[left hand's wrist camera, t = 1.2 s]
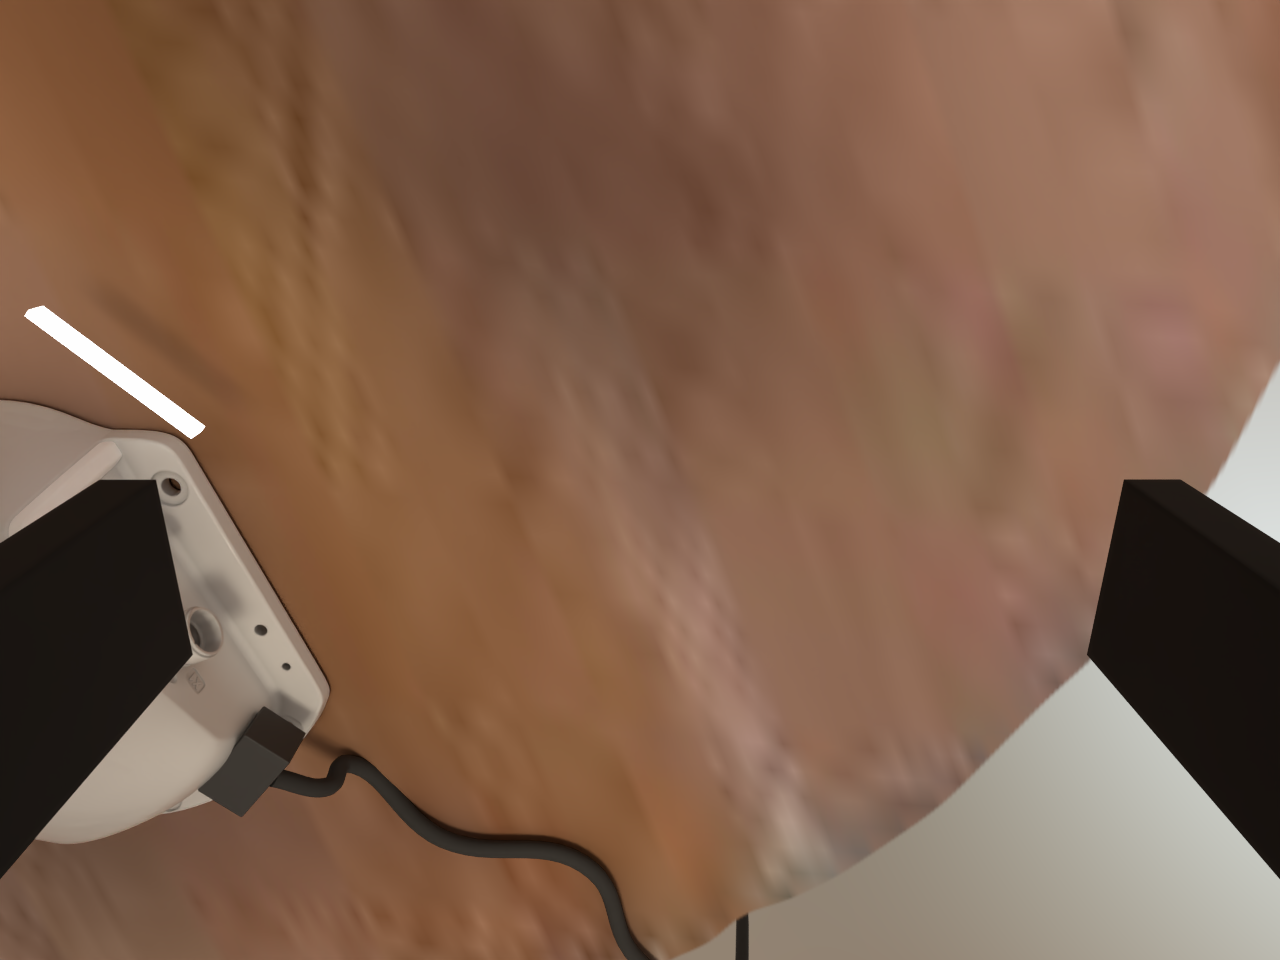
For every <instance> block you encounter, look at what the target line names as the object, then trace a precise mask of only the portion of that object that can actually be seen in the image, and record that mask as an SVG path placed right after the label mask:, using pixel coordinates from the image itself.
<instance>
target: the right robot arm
mask: <svg viewBox="0 0 1280 960" xmlns="http://www.w3.org/2000/svg"><path fill="white" fill-rule="evenodd" d="M25 317H27V318H28V319H29V320H31V321H32V322H33V323H35V324H36V325H38V326H39V327H40V328H42V329H43V330H44V331H46V332H47V333H48V334H50V335H51V336H52V337H54V338H55V339H57V340H58V341H59V342H61V343H62V344H63V345H65V346H66V347H67V348H69V349H70V350H71V351H73V352H74V353H76V354H77V355H78V356H80V357H81V358H82V359H84V360H85V361H86V362H88V363H89V364H90V365H92V366H93V367H95V368H96V369H97V370H99V371H100V372H101V373H103V374H104V375H105V376H107V377H108V378H109V379H111V380H112V381H114V382H115V383H116V384H118V385H119V386H120V387H122V388H123V389H124V390H126V391H127V392H128V393H130V394H131V395H133V396H134V397H135V398H137V399H138V400H139V401H141V402H142V403H143V404H145V405H146V406H147V407H149V408H150V409H152V410H153V411H154V412H156V413H157V414H158V415H160V416H161V417H162V418H164V419H165V420H166V421H168V422H169V423H171V424H172V425H173V426H175V427H176V428H177V429H179V430H180V431H181V432H183V433H184V434H185V435H187V436H188V437H190V438H193V437H194V436H196V435H197V434H199V433H200V432H201V431H202V430H203V429H204V427H205V426H204V425H202V424H201V423H200V422H198V421H197V420H196V419H194V418H193V417H192V416H190V415H189V414H188V413H186V412H185V411H184V410H182V409H181V408H180V407H178V406H177V405H176V404H174V403H173V402H172V401H170V400H169V399H168V398H166V397H165V396H163V395H162V394H161V393H159V392H158V391H157V390H155V389H154V388H153V387H151V386H150V385H149V384H147V383H146V382H145V381H143V380H142V379H141V378H139V377H138V376H137V375H135V374H134V373H133V372H131V371H130V370H129V369H127V368H126V367H125V366H123V365H122V364H120V363H119V362H118V361H116V360H115V359H114V358H112V357H111V356H110V355H108V354H107V353H106V352H104V351H103V350H102V349H100V348H99V347H98V346H96V345H95V344H94V343H92V342H91V341H90V340H88V339H87V338H86V337H84V336H83V335H81V334H80V333H79V332H77V331H76V330H75V329H73V328H72V327H71V326H69V325H68V324H67V323H65V322H64V321H63V320H61V319H60V318H59V317H57V316H56V315H55V314H53V313H52V312H51V311H49V310H48V309H47V308H45V307H44V306H41V307H37V308H34V309H30V310H28V312H27V313H26V315H25ZM169 478H172V479H175V480H176V481H177V482H178V483H179V484H180V486H181V490H177V489H175V488H173V487H172V486H171V484H170V482H169ZM98 480H156V482H157V487H158V492H159V496H160V501H161V506H162V511H163V515H164V520H165V525H166V529H167V534H168V539H169V544H170V548H171V553H172V558H173V563H174V567H175V572H176V577H177V582H178V586H179V591H180V596H181V601H182V605H183V610H184V615H185V619H186V624H187V629H188V634H189V638H190V643H191V648H192V653H193V655H192V656H191V658H190V659H189V660H188V661H187V662H186V663H185V665H184V666H183V667H182V668H181V669H180V670H179V672H178V673H177V674H176V675H175V676H174V677H173V679H172V680H171V681H170V682H169V683H168V684H167V685H166V687H165V688H164V689H163V690H162V691H161V692H160V694H159V695H158V696H157V697H156V698H155V699H154V701H153V702H152V703H151V704H150V705H149V706H148V708H147V709H146V710H145V711H144V712H143V713H142V715H141V716H140V717H139V718H138V719H137V720H136V722H135V723H134V724H133V725H132V726H131V727H130V729H129V730H128V731H127V732H126V733H125V734H124V736H123V737H122V738H121V739H120V740H119V741H118V742H117V744H116V745H115V746H114V747H113V748H112V749H111V751H110V752H109V753H108V754H107V755H106V756H105V758H104V759H103V760H102V761H101V762H100V763H99V765H98V766H97V767H96V768H95V769H94V770H93V772H92V773H91V774H90V775H89V776H88V777H87V779H86V780H85V781H84V782H83V783H82V784H81V786H80V787H79V788H78V789H77V790H76V791H75V793H74V794H73V795H72V796H71V797H70V798H69V799H68V801H67V802H66V803H65V804H64V805H63V806H62V808H61V809H60V810H59V811H58V812H57V813H56V815H55V816H54V817H53V818H52V819H51V820H50V822H49V823H48V824H47V825H46V826H45V827H44V829H43V830H42V831H41V832H40V833H39V834H38V836H37V837H36V838H35V839H36V840H42V841H47V842H51V843H58V844H76V843H84V842H89V841H93V840H97V839H101V838H105V837H108V836H111V835H113V834H116V833H119V832H122V831H125V830H127V829H130V828H132V827H134V826H137V825H139V824H141V823H144V822H146V821H148V820H150V819H152V818H154V817H156V816H157V815H159V814H165V813H172V812H177V811H181V810H185V809H189V808H192V807H195V806H198V805H201V804H204V803H207V802H209V801H212V800H214V801H215V802H217V803H219V804H220V805H222V806H224V807H225V808H227V809H229V810H230V811H232V812H233V813H235V814H237V815H238V816H240V817H242V816H243V815H244V814H245V813H246V812H247V811H248V810H249V808H250V807H251V806H252V805H253V804H254V803H255V802H256V801H257V799H258V798H259V797H260V796H261V795H262V794H263V793H264V791H265V790H266V789H267V788H268V787H269V786H270V787H275V788H279V789H282V790H286V791H289V792H292V793H296V794H299V795H304V796H309V797H326V796H330V795H332V794H334V793H335V792H337V791H338V790H339V789H340V788H341V787H342V785H343V783H344V780H345V777H346V773H352V774H355V775H357V776H360V777H361V778H363V779H364V780H366V781H367V782H368V783H369V784H371V785H372V786H373V787H374V788H375V789H376V790H377V791H378V792H379V793H380V795H381V796H382V797H383V798H384V799H385V800H386V801H387V803H388V804H389V805H390V806H391V807H392V809H393V810H394V811H395V812H396V813H397V814H398V815H399V817H400V818H401V819H402V820H403V821H404V822H405V823H406V824H407V825H408V826H409V827H410V828H411V829H413V830H414V831H415V832H416V833H417V834H418V835H420V836H421V837H423V838H424V839H426V840H427V841H429V842H430V843H432V844H434V845H436V846H438V847H440V848H443V849H446V850H448V851H451V852H455V853H459V854H463V855H468V856H475V857H486V858H533V859H544V860H550V861H555V862H559V863H562V864H565V865H567V866H570V867H572V868H574V869H575V870H577V871H579V872H581V873H582V874H583V875H585V876H586V877H587V878H588V879H589V880H590V881H591V882H592V883H593V884H594V885H595V886H596V887H597V889H598V890H599V892H600V894H601V896H602V899H603V902H604V905H605V908H606V911H607V915H608V919H609V923H610V926H611V929H612V932H613V935H614V938H615V940H616V942H617V944H618V946H619V948H620V949H621V951H622V953H623V954H624V956H625V957H626V958H627V960H649V959H648V958H647V957H646V955H645V954H644V953H643V952H642V951H641V950H640V949H639V948H638V947H637V945H636V944H635V943H634V941H633V939H632V937H631V935H630V933H629V930H628V927H627V924H626V921H625V917H624V913H623V909H622V906H621V902H620V899H619V896H618V893H617V891H616V889H615V887H614V885H613V883H612V881H611V879H610V878H609V877H608V875H607V874H606V872H605V871H604V870H603V869H602V868H601V867H600V866H599V865H598V864H597V863H596V862H595V861H593V860H592V859H591V858H589V857H588V856H586V855H584V854H583V853H581V852H579V851H577V850H575V849H572V848H570V847H567V846H564V845H560V844H556V843H551V842H543V841H529V840H484V839H475V838H469V837H465V836H461V835H457V834H455V833H452V832H449V831H447V830H445V829H443V828H441V827H439V826H437V825H436V824H434V823H433V822H432V821H430V820H429V819H428V818H426V817H425V816H424V815H423V814H422V813H421V812H420V811H419V810H418V809H417V808H416V807H415V806H414V805H413V804H412V803H411V802H410V801H409V800H408V799H407V798H406V797H405V796H404V795H403V794H402V793H401V792H400V791H399V790H398V789H397V788H396V787H395V786H394V785H393V784H392V783H391V782H390V781H389V780H388V779H387V778H386V777H384V776H383V775H382V774H381V773H380V772H379V771H378V769H377V768H376V767H375V766H373V765H372V764H371V763H369V762H368V761H366V760H365V759H364V758H361V757H357V756H351V755H342V756H339V757H338V758H337V759H335V760H334V761H333V762H332V764H331V766H330V768H329V772H328V775H327V777H326V778H321V779H315V778H310V777H306V776H303V775H300V774H297V773H294V772H290V771H287V770H284V769H285V768H286V767H287V765H288V764H289V763H290V761H291V759H292V758H293V756H294V754H295V752H296V751H297V749H298V747H299V745H300V743H301V742H302V740H303V739H304V738H305V736H306V735H307V734H308V732H309V731H310V730H311V729H312V727H313V726H314V725H315V723H316V721H317V720H318V718H319V717H320V715H321V714H322V712H323V710H324V707H325V705H326V703H327V700H328V697H329V694H330V689H329V686H328V683H327V681H326V679H325V677H324V675H323V673H322V672H321V670H320V668H319V666H318V665H317V663H316V661H315V660H314V658H313V656H312V655H311V653H310V651H309V649H308V648H307V646H306V644H305V643H304V641H303V639H302V638H301V636H300V634H299V633H298V631H297V629H296V628H295V626H294V624H293V623H292V621H291V619H290V617H289V616H288V614H287V612H286V611H285V609H284V607H283V606H282V604H281V602H280V601H279V599H278V597H277V596H276V594H275V592H274V591H273V589H272V587H271V585H270V584H269V582H268V580H267V579H266V577H265V575H264V574H263V572H262V570H261V569H260V567H259V565H258V564H257V562H256V560H255V558H254V557H253V555H252V553H251V552H250V550H249V548H248V547H247V545H246V543H245V542H244V540H243V538H242V537H241V535H240V533H239V532H238V530H237V528H236V526H235V525H234V523H233V521H232V520H231V518H230V516H229V515H228V513H227V511H226V510H225V508H224V506H223V505H222V503H221V501H220V500H219V498H218V496H217V494H216V493H215V491H214V489H213V488H212V486H211V484H210V483H209V481H208V479H207V478H206V476H205V474H204V473H203V471H202V469H201V467H200V466H199V464H198V462H197V461H196V459H195V457H194V456H193V454H192V452H191V451H190V449H189V448H188V447H187V445H186V444H185V443H184V442H183V441H181V440H180V439H179V438H177V437H175V436H173V435H170V434H167V433H164V432H158V431H149V430H112V429H108V428H104V427H100V426H97V425H94V424H91V423H89V422H86V421H84V420H81V419H79V418H76V417H73V416H71V415H68V414H66V413H63V412H60V411H57V410H54V409H51V408H48V407H44V406H40V405H36V404H31V403H26V402H19V401H11V400H0V543H1V542H3V541H4V540H6V539H7V538H9V537H10V536H12V535H13V534H15V533H17V532H18V531H20V530H21V529H23V528H24V527H26V526H28V525H29V524H31V523H32V522H34V521H35V520H37V519H39V518H40V517H42V516H43V515H45V514H46V513H48V512H50V511H51V510H53V509H54V508H56V507H57V506H59V505H60V504H62V503H64V502H65V501H67V500H68V499H70V498H71V497H73V496H75V495H76V494H78V493H79V492H81V491H82V490H84V489H86V488H87V487H89V486H90V485H92V484H93V483H95V482H97V481H98ZM288 721H289V722H288ZM290 722H291V723H292V724H291V723H290ZM735 960H749V917H748V913H747V914H746V915H743V916H742V917H740V918H739V919H737V920H736V955H735Z"/></svg>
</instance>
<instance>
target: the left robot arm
mask: <svg viewBox="0 0 1280 960" xmlns="http://www.w3.org/2000/svg"><path fill="white" fill-rule="evenodd" d="M192 655H193V653H192V648H191V643H190V638H189V634H188V629H187V624H186V619H185V615H184V610H183V605H182V601H181V596H180V591H179V586H178V582H177V577H176V572H175V567H174V563H173V558H172V553H171V548H170V544H169V539H168V534H167V529H166V525H165V520H164V515H163V511H162V506H161V501H160V496H159V492H158V487H157V482H156V480H98V481H97V482H95V483H93V484H92V485H90V486H89V487H87V488H86V489H84V490H82V491H81V492H79V493H78V494H76V495H75V496H73V497H71V498H70V499H68V500H67V501H65V502H64V503H62V504H60V505H59V506H57V507H56V508H54V509H53V510H51V511H50V512H48V513H46V514H45V515H43V516H42V517H40V518H39V519H37V520H35V521H34V522H32V523H31V524H29V525H28V526H26V527H24V528H23V529H21V530H20V531H18V532H17V533H15V534H13V535H12V536H10V537H9V538H7V539H6V540H4V541H3V542H1V543H0V879H1V877H2V876H3V875H4V874H5V873H6V872H7V870H8V869H9V868H10V867H11V866H12V865H13V863H14V862H15V861H16V860H17V859H18V858H19V856H20V855H21V854H22V853H23V852H24V851H25V850H26V848H27V847H28V846H29V845H30V844H31V843H32V841H33V840H34V839H35V838H36V837H37V836H38V834H39V833H40V832H41V831H42V830H43V829H44V827H45V826H46V825H47V824H48V823H49V822H50V820H51V819H52V818H53V817H54V816H55V815H56V813H57V812H58V811H59V810H60V809H61V808H62V806H63V805H64V804H65V803H66V802H67V801H68V799H69V798H70V797H71V796H72V795H73V794H74V793H75V791H76V790H77V789H78V788H79V787H80V786H81V784H82V783H83V782H84V781H85V780H86V779H87V777H88V776H89V775H90V774H91V773H92V772H93V770H94V769H95V768H96V767H97V766H98V765H99V763H100V762H101V761H102V760H103V759H104V758H105V756H106V755H107V754H108V753H109V752H110V751H111V749H112V748H113V747H114V746H115V745H116V744H117V742H118V741H119V740H120V739H121V738H122V737H123V736H124V734H125V733H126V732H127V731H128V730H129V729H130V727H131V726H132V725H133V724H134V723H135V722H136V720H137V719H138V718H139V717H140V716H141V715H142V713H143V712H144V711H145V710H146V709H147V708H148V706H149V705H150V704H151V703H152V702H153V701H154V699H155V698H156V697H157V696H158V695H159V694H160V692H161V691H162V690H163V689H164V688H165V687H166V685H167V684H168V683H169V682H170V681H171V680H172V679H173V677H174V676H175V675H176V674H177V673H178V672H179V670H180V669H181V668H182V667H183V666H184V665H185V663H186V662H187V661H188V660H189V659H190V658H191V656H192ZM1087 655H1088V656H1089V658H1090V659H1091V660H1092V661H1093V662H1094V663H1095V665H1096V666H1097V667H1098V668H1099V669H1100V670H1101V672H1102V673H1103V674H1104V675H1105V676H1106V677H1107V678H1108V680H1109V681H1110V682H1111V683H1112V684H1113V685H1114V687H1115V688H1116V689H1117V690H1118V691H1119V692H1120V694H1121V695H1122V696H1123V697H1124V698H1125V699H1126V701H1127V702H1128V703H1129V704H1130V705H1131V706H1132V708H1133V709H1134V710H1135V711H1136V712H1137V713H1138V715H1139V716H1140V717H1141V718H1142V719H1143V720H1144V722H1145V723H1146V724H1147V725H1148V726H1149V727H1150V729H1151V730H1152V731H1153V732H1154V733H1155V734H1156V736H1157V737H1158V738H1159V739H1160V740H1161V741H1162V742H1163V744H1164V745H1165V746H1166V747H1167V748H1168V749H1169V751H1170V752H1171V753H1172V754H1173V755H1174V756H1175V758H1176V759H1177V760H1178V761H1179V762H1180V763H1181V765H1182V766H1183V767H1184V768H1185V769H1186V770H1187V772H1188V773H1189V774H1190V775H1191V776H1192V777H1193V779H1194V780H1195V781H1196V782H1197V783H1198V784H1199V786H1200V787H1201V788H1202V789H1203V790H1204V791H1205V793H1206V794H1207V795H1208V796H1209V797H1210V798H1211V799H1212V801H1213V802H1214V803H1215V804H1216V805H1217V806H1218V808H1219V809H1220V810H1221V811H1222V812H1223V813H1224V815H1225V816H1226V817H1227V818H1228V819H1229V820H1230V822H1231V823H1232V824H1233V825H1234V826H1235V827H1236V829H1237V830H1238V831H1239V832H1240V833H1241V834H1242V836H1243V837H1244V838H1245V839H1246V840H1247V841H1248V843H1249V844H1250V845H1251V846H1252V847H1253V848H1254V849H1255V851H1256V852H1257V853H1258V854H1259V855H1260V856H1261V858H1262V859H1263V860H1264V861H1265V862H1266V863H1267V865H1268V866H1269V867H1270V868H1271V869H1272V870H1273V872H1274V873H1275V874H1276V875H1277V876H1278V877H1279V879H1280V543H1279V542H1277V541H1276V540H1274V539H1273V538H1271V537H1270V536H1268V535H1267V534H1265V533H1263V532H1262V531H1260V530H1259V529H1257V528H1256V527H1254V526H1252V525H1251V524H1249V523H1248V522H1246V521H1245V520H1243V519H1241V518H1240V517H1238V516H1237V515H1235V514H1234V513H1232V512H1230V511H1229V510H1227V509H1226V508H1224V507H1223V506H1221V505H1220V504H1218V503H1216V502H1215V501H1213V500H1212V499H1210V498H1209V497H1207V496H1205V495H1204V494H1202V493H1201V492H1199V491H1198V490H1196V489H1194V488H1193V487H1191V486H1190V485H1188V484H1187V483H1185V482H1183V481H1182V480H1124V482H1123V487H1122V492H1121V496H1120V501H1119V506H1118V511H1117V515H1116V520H1115V525H1114V529H1113V534H1112V539H1111V544H1110V548H1109V553H1108V558H1107V563H1106V567H1105V572H1104V577H1103V582H1102V586H1101V591H1100V596H1099V601H1098V605H1097V610H1096V615H1095V619H1094V624H1093V629H1092V634H1091V638H1090V643H1089V648H1088V653H1087Z"/></svg>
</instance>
